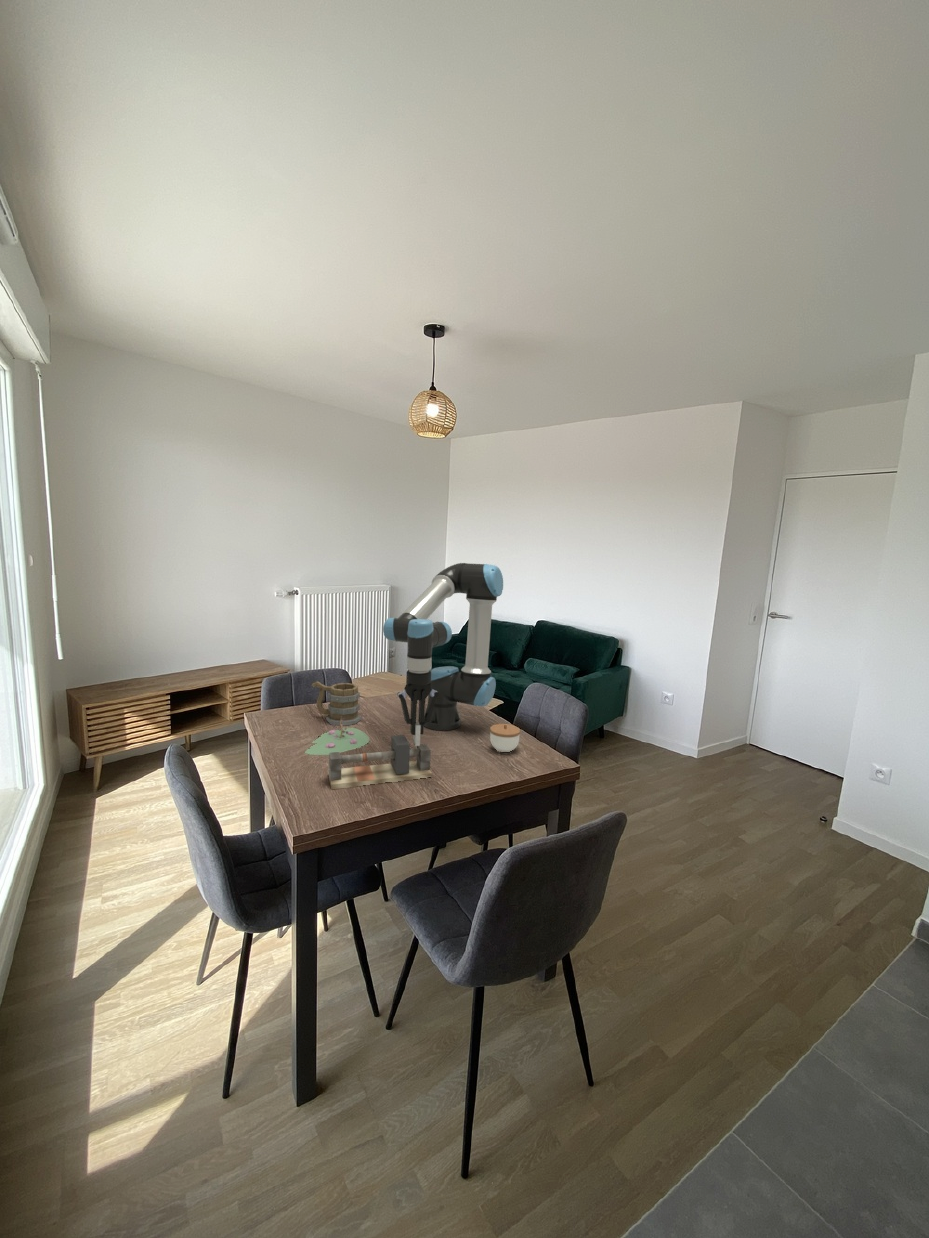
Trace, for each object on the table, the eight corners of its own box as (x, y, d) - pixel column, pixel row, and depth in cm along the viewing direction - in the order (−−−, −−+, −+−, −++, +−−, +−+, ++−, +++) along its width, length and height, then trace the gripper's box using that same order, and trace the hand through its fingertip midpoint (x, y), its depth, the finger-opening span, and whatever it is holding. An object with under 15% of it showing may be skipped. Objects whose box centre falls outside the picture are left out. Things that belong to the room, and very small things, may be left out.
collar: (403, 762, 161) (403, 734, 160) (409, 773, 154) (409, 744, 153) (390, 763, 160) (391, 735, 159) (396, 774, 153) (396, 745, 151)
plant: (343, 762, 165) (344, 736, 164) (289, 752, 171) (289, 726, 170) (379, 736, 189) (379, 713, 187) (330, 728, 195) (330, 705, 193)
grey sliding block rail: (423, 764, 165) (424, 740, 164) (431, 777, 156) (432, 753, 154) (328, 774, 155) (328, 749, 154) (331, 789, 145) (331, 763, 144)
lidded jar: (523, 747, 183) (524, 722, 181) (513, 758, 173) (514, 731, 172) (495, 741, 187) (496, 717, 186) (484, 751, 177) (485, 726, 176)
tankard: (365, 717, 207) (365, 681, 205) (351, 727, 195) (351, 689, 193) (320, 711, 212) (320, 676, 210) (304, 721, 200) (304, 684, 198)
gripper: (435, 666, 160) (433, 738, 163) (395, 668, 156) (393, 741, 159) (443, 672, 153) (440, 746, 156) (400, 674, 149) (398, 750, 152)
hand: (416, 744), depth 158 cm, fingers closed
